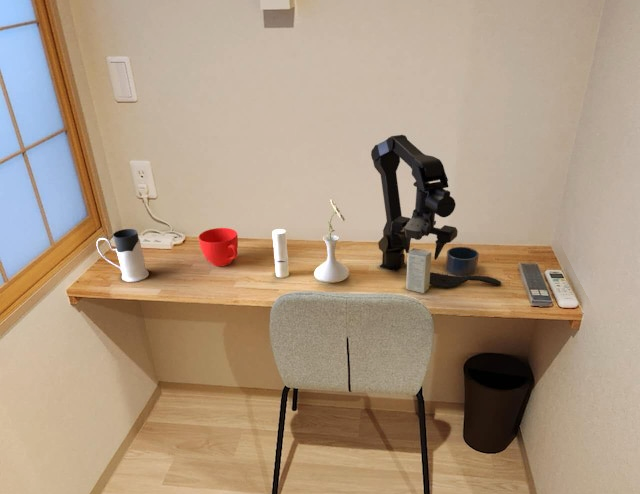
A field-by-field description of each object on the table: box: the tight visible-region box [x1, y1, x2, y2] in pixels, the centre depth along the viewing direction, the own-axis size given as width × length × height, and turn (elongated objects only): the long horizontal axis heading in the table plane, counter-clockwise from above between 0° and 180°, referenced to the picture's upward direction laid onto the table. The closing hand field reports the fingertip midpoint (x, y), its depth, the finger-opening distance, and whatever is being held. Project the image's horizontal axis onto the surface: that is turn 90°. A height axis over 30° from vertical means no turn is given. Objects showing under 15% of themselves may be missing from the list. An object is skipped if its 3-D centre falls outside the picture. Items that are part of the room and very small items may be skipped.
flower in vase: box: [313, 198, 350, 284], centre depth 171 cm, size 13×11×25 cm
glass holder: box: [95, 228, 150, 283], centre depth 179 cm, size 9×14×15 cm, turn 94°
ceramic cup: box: [198, 227, 239, 267], centre depth 186 cm, size 13×17×10 cm
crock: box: [444, 246, 480, 276], centre depth 179 cm, size 10×10×6 cm
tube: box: [271, 228, 290, 278], centre depth 176 cm, size 4×4×15 cm
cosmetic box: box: [405, 248, 432, 294], centre depth 166 cm, size 6×4×12 cm
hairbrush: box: [429, 270, 502, 290], centre depth 171 cm, size 8×4×25 cm
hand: (421, 256), depth 164 cm, fingers open, 9 cm apart
